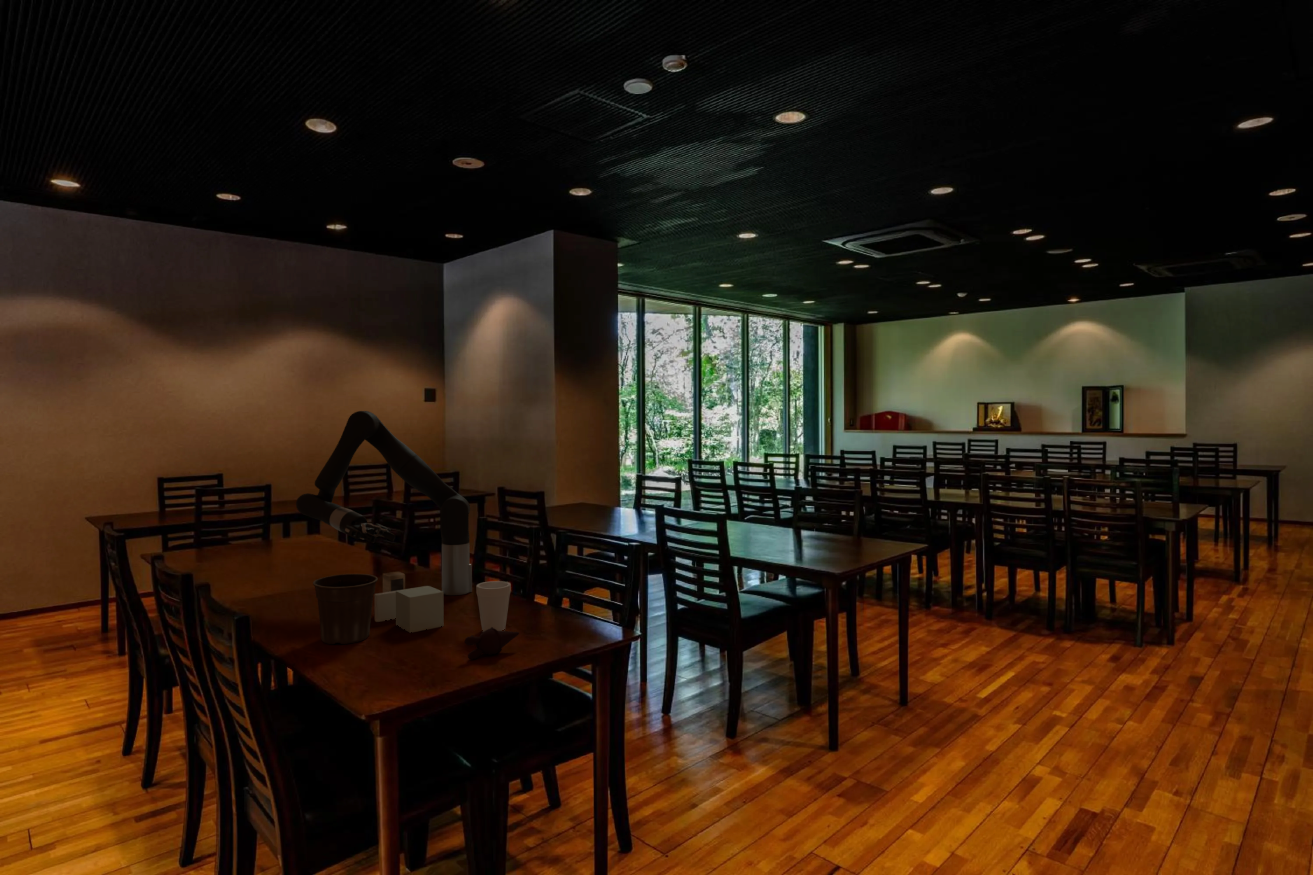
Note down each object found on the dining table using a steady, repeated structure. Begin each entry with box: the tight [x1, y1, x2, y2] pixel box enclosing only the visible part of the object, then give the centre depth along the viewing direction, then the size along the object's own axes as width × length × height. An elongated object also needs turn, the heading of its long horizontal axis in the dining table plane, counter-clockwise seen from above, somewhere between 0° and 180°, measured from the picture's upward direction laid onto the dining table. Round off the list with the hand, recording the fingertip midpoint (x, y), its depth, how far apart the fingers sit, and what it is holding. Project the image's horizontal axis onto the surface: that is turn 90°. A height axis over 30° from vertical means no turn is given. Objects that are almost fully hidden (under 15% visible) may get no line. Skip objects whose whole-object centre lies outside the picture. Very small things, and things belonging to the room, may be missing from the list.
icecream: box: [464, 627, 520, 660], centre depth 184 cm, size 7×7×15 cm
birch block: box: [382, 571, 406, 593], centre depth 222 cm, size 5×5×12 cm
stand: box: [395, 585, 445, 634], centre depth 208 cm, size 10×10×10 cm
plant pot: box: [312, 573, 378, 645], centre depth 196 cm, size 16×16×16 cm
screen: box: [374, 585, 425, 623], centre depth 218 cm, size 16×2×8 cm, turn 132°
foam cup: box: [475, 580, 512, 633], centre depth 204 cm, size 10×9×13 cm
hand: (384, 539), depth 228 cm, fingers open, 8 cm apart
